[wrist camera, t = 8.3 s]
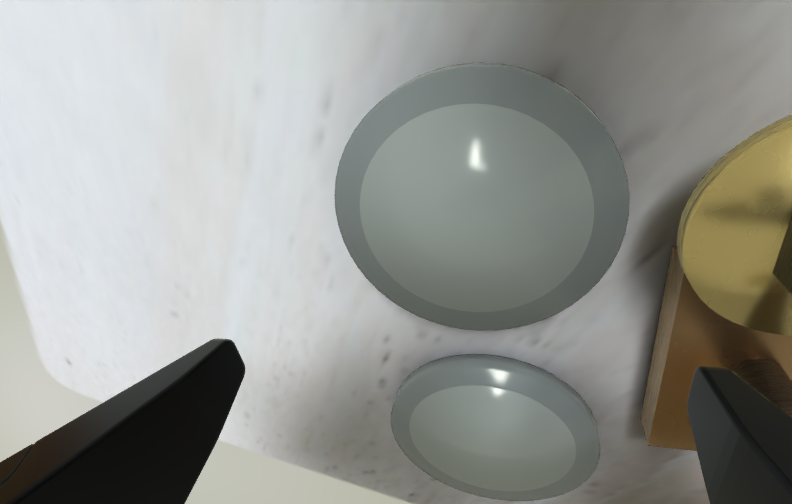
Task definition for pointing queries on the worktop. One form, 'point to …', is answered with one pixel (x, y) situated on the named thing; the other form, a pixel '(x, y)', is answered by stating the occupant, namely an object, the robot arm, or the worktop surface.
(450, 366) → the dish
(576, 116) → the dish
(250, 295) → the worktop surface
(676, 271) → the balance
